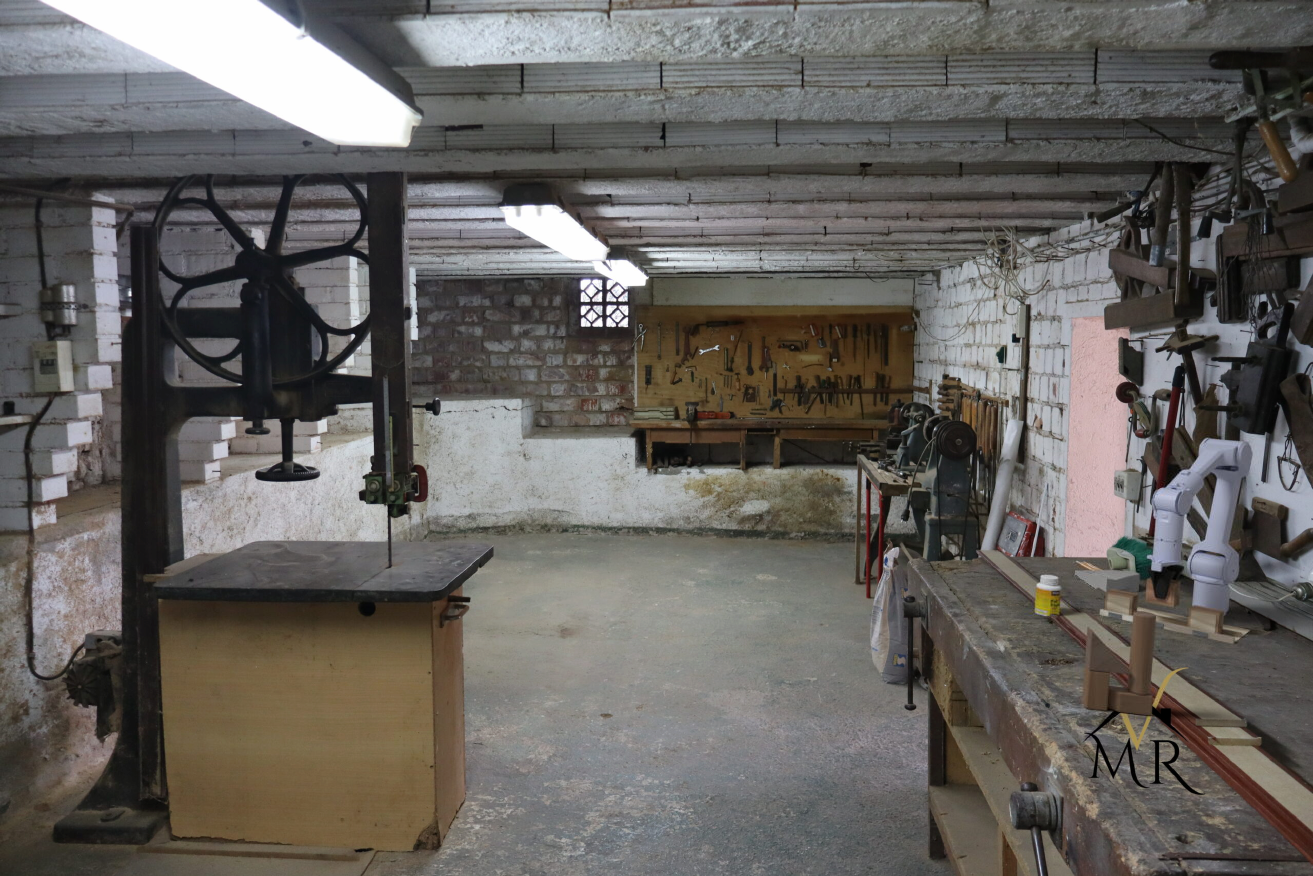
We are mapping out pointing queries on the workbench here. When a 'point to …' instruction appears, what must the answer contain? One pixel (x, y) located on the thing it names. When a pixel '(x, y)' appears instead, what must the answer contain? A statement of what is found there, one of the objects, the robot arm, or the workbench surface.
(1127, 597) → the faced block
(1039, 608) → the supplement bottle
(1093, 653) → the wooden block
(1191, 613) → the faced block
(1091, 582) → the ramp
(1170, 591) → the turned block
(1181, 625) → the long shallow wooden tray
